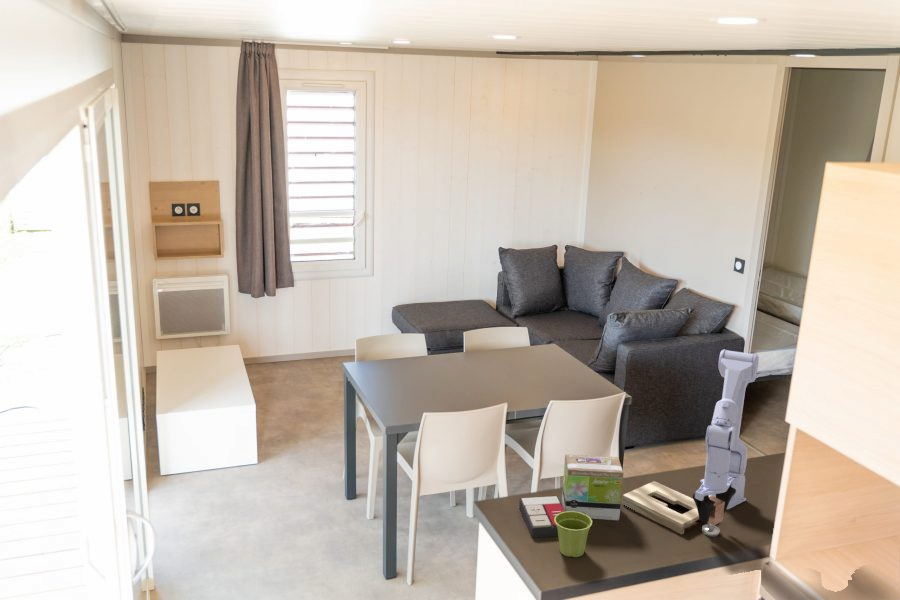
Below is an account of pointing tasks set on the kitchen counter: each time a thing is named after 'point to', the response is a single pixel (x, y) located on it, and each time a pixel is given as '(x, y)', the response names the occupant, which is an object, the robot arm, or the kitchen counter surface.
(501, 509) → the kitchen counter surface
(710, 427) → the robot arm
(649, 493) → the keyhole plate
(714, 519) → the peg
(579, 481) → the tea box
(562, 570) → the kitchen counter surface
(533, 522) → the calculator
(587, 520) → the plant pot
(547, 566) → the kitchen counter surface
